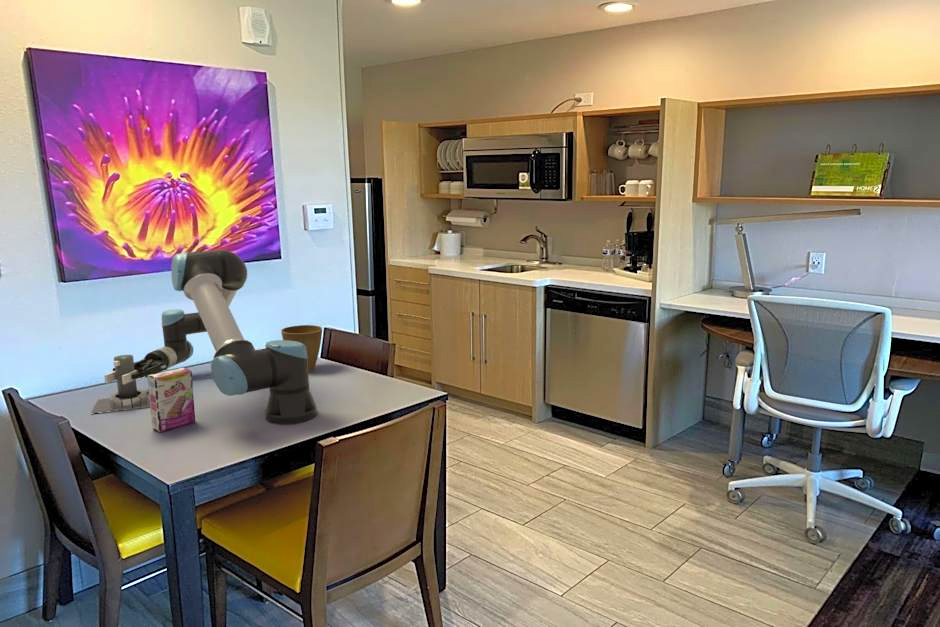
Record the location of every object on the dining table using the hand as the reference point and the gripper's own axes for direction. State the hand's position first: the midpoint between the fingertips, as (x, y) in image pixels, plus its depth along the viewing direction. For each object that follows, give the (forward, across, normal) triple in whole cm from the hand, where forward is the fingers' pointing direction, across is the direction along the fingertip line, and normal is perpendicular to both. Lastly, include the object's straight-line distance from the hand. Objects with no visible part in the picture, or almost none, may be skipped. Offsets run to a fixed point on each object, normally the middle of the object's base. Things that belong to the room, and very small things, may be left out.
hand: (114, 379), depth 214 cm
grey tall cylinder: (-5, 0, -8) cm, 10 cm away
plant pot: (-49, -41, -10) cm, 65 cm away
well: (-5, 0, -10) cm, 11 cm away
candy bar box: (+11, -27, -10) cm, 31 cm away
